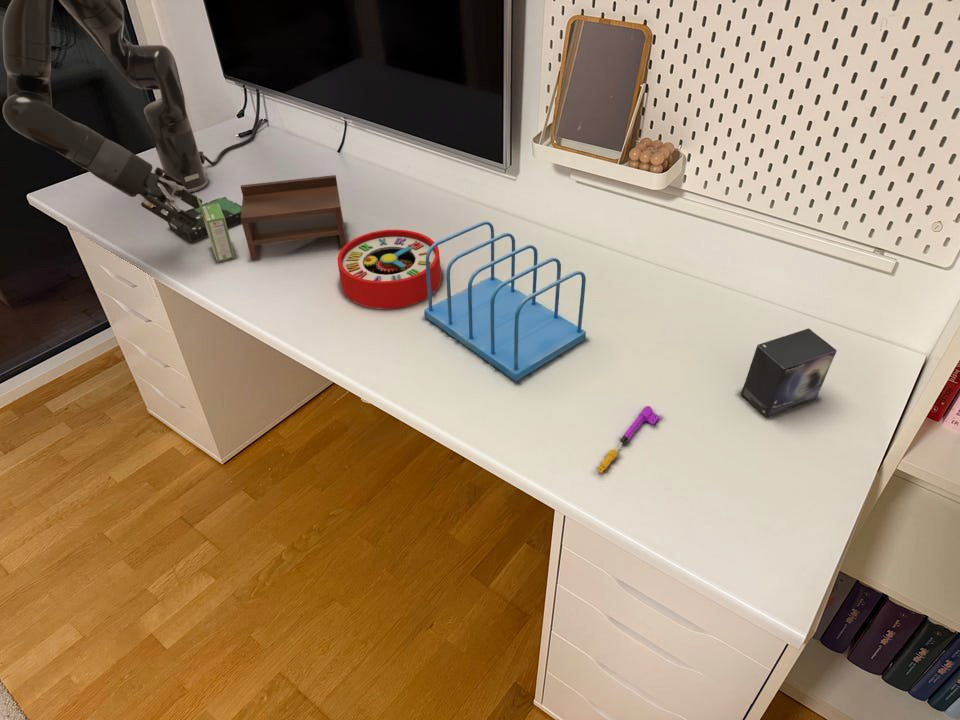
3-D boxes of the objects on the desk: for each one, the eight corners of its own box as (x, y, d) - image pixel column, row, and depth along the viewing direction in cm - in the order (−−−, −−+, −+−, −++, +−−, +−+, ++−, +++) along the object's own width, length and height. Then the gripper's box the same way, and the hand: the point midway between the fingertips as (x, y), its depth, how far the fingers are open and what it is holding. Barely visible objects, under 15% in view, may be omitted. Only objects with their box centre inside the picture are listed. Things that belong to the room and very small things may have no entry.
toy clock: (316, 257, 136) (392, 219, 147) (321, 282, 139) (395, 243, 151) (383, 296, 125) (460, 252, 136) (386, 321, 129) (461, 277, 140)
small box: (766, 420, 108) (784, 369, 101) (738, 394, 112) (754, 343, 105) (819, 400, 111) (839, 350, 104) (789, 376, 115) (808, 326, 109)
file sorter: (586, 340, 124) (593, 267, 114) (515, 384, 115) (517, 309, 105) (492, 282, 138) (492, 213, 128) (423, 317, 130) (417, 246, 120)
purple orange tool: (645, 407, 110) (594, 471, 100) (647, 403, 109) (597, 466, 99) (659, 417, 109) (610, 482, 99) (662, 412, 108) (612, 477, 99)
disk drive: (192, 245, 152) (250, 219, 160) (188, 233, 150) (247, 208, 158) (169, 229, 158) (226, 205, 166) (165, 218, 156) (223, 194, 164)
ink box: (236, 258, 147) (220, 201, 138) (217, 263, 146) (199, 205, 137) (230, 243, 152) (214, 187, 143) (211, 247, 151) (194, 191, 142)
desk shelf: (253, 234, 155) (240, 185, 147) (343, 224, 158) (335, 174, 150) (251, 260, 146) (238, 209, 139) (346, 248, 149) (338, 197, 142)
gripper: (122, 168, 126) (204, 217, 136) (135, 138, 137) (211, 186, 146) (102, 198, 129) (184, 244, 138) (117, 167, 140) (192, 211, 149)
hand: (198, 214), depth 142 cm, fingers open, 8 cm apart
